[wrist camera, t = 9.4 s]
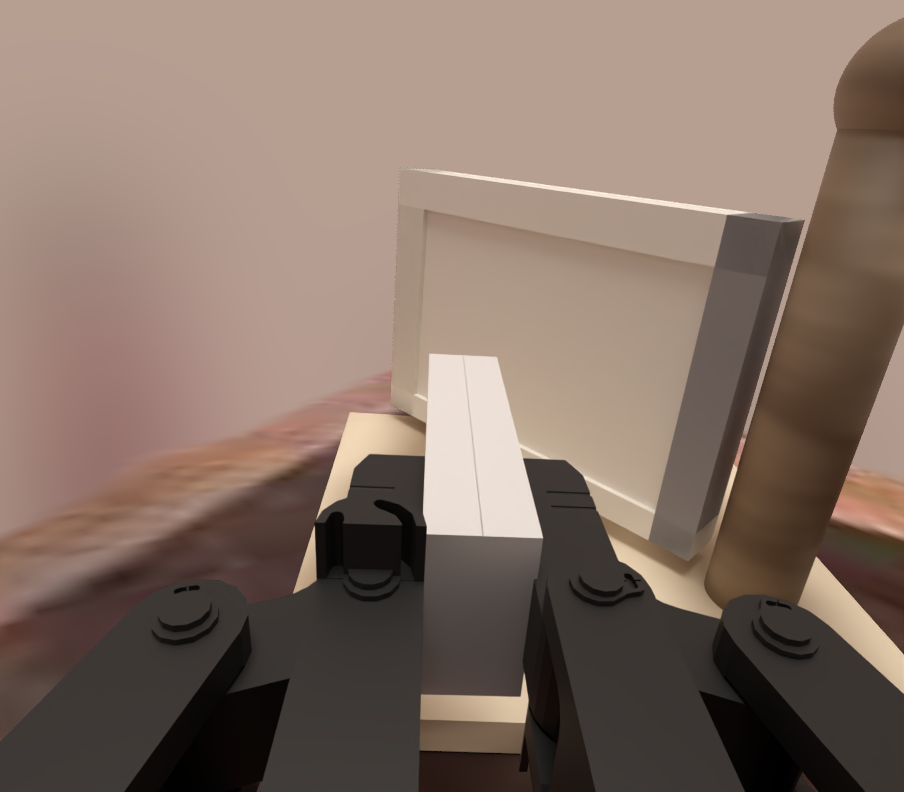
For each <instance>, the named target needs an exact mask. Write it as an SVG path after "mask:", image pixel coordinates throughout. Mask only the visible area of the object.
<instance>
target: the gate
mask: <svg viewBox="0 0 904 792" xmlns="http://www.w3.org/2000/svg"><path fill="white" fill-rule="evenodd" d="M804 221H805V220H801V219H793V218H786V217H779V216H771V215H763V214H757V213H750V212H742V211H735V210H728V209H720V208H712V207H706V206H698V205H690V204H683V203H676V202H669V201H662V200H654V199H647V198H639V197H632V196H625V195H618V194H610V193H603V192H596V191H589V190H581V189H574V188H566V187H559V186H552V185H545V184H537V183H530V182H523V181H515V180H507V179H501V178H493V177H486V176H479V175H471V174H464V173H457V172H449V171H442V170H435V169H411V168H400V170H399V196H398V222H397V249H396V275H395V301H394V328H393V353H392V379H391V405H393V406H395V407H397V408H398V409H400V410H402V411H404V412H406V413H408V414H410V415H412V416H414V417H415V418H417V419H419V420H421V421H423V422H425V423H426V416H427V395H428V373H429V354H446V355H466V356H487V357H497V359H498V363H499V367H500V371H501V375H502V379H503V383H504V387H505V391H506V395H507V399H508V402H509V406H510V410H511V414H512V418H513V422H514V426H515V430H516V434H517V438H518V441H519V445H520V449H521V453H522V457H523V458H531V459H555V460H566V461H567V462H568V463H569V464H571V465H572V466H573V467H574V468H575V469H576V470H577V471H579V472H580V473H581V474H582V475H583V477H584V479H585V481H586V484H587V486H588V489H589V491H590V496H592V498H593V501H594V503H595V505H596V511H598V513H599V515H601V516H603V517H605V518H607V519H609V520H611V521H612V522H614V523H616V524H618V525H620V526H622V527H624V528H626V529H628V530H629V531H631V532H633V533H635V534H637V535H639V536H641V537H643V538H645V539H647V540H648V541H650V542H652V543H654V544H656V545H658V546H660V547H662V548H664V549H665V550H667V551H669V552H671V553H673V554H675V555H677V556H679V557H681V558H683V559H684V560H686V561H689V560H690V559H691V558H692V557H693V556H694V555H696V554H697V553H698V552H699V551H700V550H701V549H702V548H703V547H704V546H706V545H707V544H708V543H709V542H710V541H711V540H712V537H713V533H714V530H715V526H716V523H717V519H718V516H719V513H720V509H721V506H722V502H723V499H724V495H725V492H726V489H727V485H728V482H729V478H730V475H731V471H732V468H733V465H734V461H735V458H736V454H737V451H738V447H739V444H740V440H741V437H742V434H743V430H744V426H745V423H746V419H747V416H748V413H749V409H750V406H751V403H752V399H753V396H754V392H755V389H756V386H757V382H758V379H759V375H760V372H761V368H762V365H763V362H764V358H765V354H766V351H767V348H768V344H769V341H770V337H771V334H772V331H773V327H774V324H775V320H776V317H777V313H778V310H779V307H780V303H781V299H782V296H783V293H784V289H785V286H786V283H787V279H788V276H789V272H790V269H791V265H792V262H793V259H794V255H795V252H796V248H797V245H798V241H799V238H800V234H801V231H802V227H803V224H804Z"/></svg>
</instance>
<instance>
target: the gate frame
mask: <svg viewBox="0 0 904 792" xmlns="http://www.w3.org/2000/svg"><path fill="white" fill-rule="evenodd" d="M834 119H835V124H836V127H837V133H836V136H835V139H834V143H833V147H832V150H831V153H830V156H829V160H828V164H827V167H826V170H825V173H824V177H823V180H822V184H821V187H820V190H819V194H818V197H817V201H816V204H815V207H814V211H813V214H812V218H811V221H810V224H809V228H808V231H807V234H806V238H805V241H804V245H803V248H802V252H801V255H800V258H799V262H798V265H797V268H796V272H795V275H794V278H793V282H792V285H791V289H790V292H789V296H788V299H787V302H786V306H785V309H784V313H783V316H782V319H781V322H780V326H779V330H778V333H777V336H776V339H775V343H774V346H773V350H772V353H771V356H770V361H769V363H768V367H767V370H766V373H765V377H764V380H763V384H762V387H761V390H760V394H759V397H758V401H757V404H756V407H755V411H754V414H753V417H752V421H751V425H750V428H749V431H748V434H747V438H746V441H745V445H744V448H743V451H742V455H741V458H740V461H739V465H738V468H737V467H736V466H735V465H733V468H732V471H731V475H730V478H729V482H728V485H727V489H726V492H725V495H724V499H723V502H722V506H721V509H720V513H719V516H718V519H717V523H716V526H715V530H714V533H713V537H712V540H711V541H710V542H709V543H708V544H707V545H706V546H704V547H703V548H702V549H701V550H700V551H699V552H698V553H697V554H696V555H694V556H693V557H692V558H691V559H690V560H689V561H686V560H684V559H683V558H681V557H679V556H677V555H675V554H673V553H671V552H669V551H667V550H665V549H664V548H662V547H660V546H658V545H656V544H654V543H652V542H650V541H648V540H647V539H645V538H643V537H641V536H639V535H637V534H635V533H633V532H631V531H629V530H628V529H626V528H624V527H622V526H620V525H618V524H616V523H614V522H612V521H611V520H609V519H607V518H605V517H603V516H601V515H600V517H601V520H602V522H603V525H604V527H605V529H606V532H607V534H608V537H609V539H610V541H611V544H612V546H613V549H614V551H615V553H616V556H617V558H618V561H620V562H623V563H625V564H627V565H628V566H630V567H631V568H632V569H634V570H635V571H637V572H638V573H639V574H641V575H642V576H643V578H644V579H645V580H646V582H647V583H648V584H649V586H650V587H651V589H652V591H653V593H654V595H655V597H656V599H657V600H659V601H661V602H663V603H666V604H669V605H672V606H675V607H677V608H680V609H684V610H688V611H692V612H696V613H699V614H703V615H707V616H711V617H715V618H718V619H720V618H721V615H722V611H723V610H724V608H725V607H726V605H727V604H728V602H729V601H730V600H732V599H734V598H737V597H740V596H742V595H767V596H771V597H775V598H779V599H783V600H787V601H789V602H791V603H793V604H796V605H798V606H800V607H802V608H804V609H806V610H808V611H810V612H811V613H813V614H814V615H816V616H817V617H818V618H820V619H821V620H822V621H824V622H825V623H826V624H828V625H829V626H830V627H831V628H832V629H834V630H835V631H836V632H837V633H838V634H839V635H840V636H841V637H842V638H843V639H844V640H846V641H847V642H848V643H849V644H850V645H851V646H852V647H853V648H854V649H855V650H856V651H858V652H859V653H860V654H861V655H862V656H863V657H864V658H865V659H866V660H867V661H869V662H870V663H871V664H872V665H873V666H874V667H875V668H876V669H877V670H878V671H879V672H881V673H882V674H883V675H884V676H885V677H886V678H887V679H888V680H889V681H890V682H891V683H893V684H894V685H895V686H896V687H897V688H898V689H899V690H900V691H901V692H902V693H903V694H904V654H903V653H902V652H901V651H900V650H899V649H898V648H897V647H896V645H895V644H894V643H893V642H892V641H891V640H890V639H889V638H888V636H887V635H886V634H885V633H884V632H883V631H882V630H881V629H880V628H879V626H878V625H877V624H876V623H875V622H874V621H873V620H872V619H871V617H870V616H869V615H868V614H867V613H866V612H865V611H864V610H863V609H862V607H861V606H860V605H859V604H858V603H857V602H856V601H855V600H854V598H853V597H852V596H851V595H850V594H849V593H848V592H847V591H846V589H845V588H844V587H843V586H842V585H841V584H840V583H839V582H838V581H837V579H836V578H835V577H834V576H833V575H832V574H831V573H830V572H829V570H828V569H827V568H826V567H825V566H824V565H823V564H822V563H821V561H820V560H819V559H818V558H817V557H816V555H817V553H818V550H819V548H820V545H821V542H822V540H823V537H824V534H825V532H826V529H827V526H828V524H829V521H830V518H831V516H832V513H833V510H834V508H835V505H836V502H837V500H838V497H839V495H840V492H841V489H842V487H843V484H844V481H845V479H846V476H847V473H848V471H849V468H850V465H851V463H852V460H853V457H854V455H855V452H856V449H857V447H858V444H859V441H860V439H861V436H862V434H863V431H864V428H865V426H866V423H867V420H868V417H869V415H870V412H871V409H872V407H873V404H874V402H875V399H876V396H877V394H878V391H879V388H880V386H881V383H882V381H883V378H884V375H885V372H886V370H887V367H888V365H889V362H890V359H891V357H892V354H893V351H894V349H895V346H896V343H897V341H898V338H899V335H900V333H901V330H902V327H903V325H904V18H902V19H899V20H898V21H896V22H894V23H892V24H890V25H888V26H887V27H885V28H884V29H882V30H881V31H879V32H878V33H876V34H875V35H874V36H873V37H872V38H870V39H869V40H868V41H867V42H866V43H865V44H864V45H863V46H862V47H861V48H860V49H859V50H858V51H857V53H856V54H855V55H854V56H853V58H852V59H851V60H850V62H849V63H848V65H847V67H846V68H845V70H844V72H843V74H842V76H841V78H840V80H839V83H838V86H837V89H836V93H835V98H834ZM425 438H426V423H425V422H423V421H421V420H419V419H417V418H415V417H414V416H403V415H386V414H369V413H352V412H350V414H349V417H348V420H347V424H346V427H345V430H344V433H343V436H342V440H341V443H340V446H339V449H338V452H337V456H336V459H335V462H334V465H333V468H332V471H331V475H330V478H329V481H328V484H327V487H326V491H325V494H324V497H323V500H322V503H321V506H320V510H319V513H318V516H319V515H320V513H321V512H322V510H324V509H325V508H327V507H328V506H330V505H331V504H333V503H334V502H336V501H338V500H341V499H345V498H347V495H348V491H349V489H350V483H351V479H352V475H353V471H354V468H355V467H356V466H357V465H358V464H359V463H360V462H361V461H362V460H363V459H364V458H366V457H367V456H368V455H369V454H385V455H409V456H425ZM318 516H317V518H318ZM316 579H317V577H316V550H315V526H314V529H313V532H312V535H311V538H310V541H309V545H308V548H307V551H306V554H305V557H304V561H303V564H302V567H301V570H300V573H299V577H298V580H297V583H296V586H295V589H294V592H293V594H294V593H296V592H298V591H300V590H302V589H304V588H306V587H308V586H309V585H311V584H312V583H313V582H315V581H316ZM528 701H529V699H528V693H527V687H526V680H525V674H524V676H523V683H522V690H521V697H504V696H464V695H424V694H421V713H420V750H423V751H454V752H486V753H518V754H521V747H522V741H523V734H524V728H525V721H526V714H527V708H528Z"/></svg>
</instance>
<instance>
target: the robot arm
mask: <svg viewBox="0 0 904 792" xmlns="http://www.w3.org/2000/svg"><path fill="white" fill-rule="evenodd" d="M314 523H315V550H316V577H317V579H316V581H315V582H313V583H312V584H311V585H309V586H308V587H306V588H304V589H302V590H300V591H298V592H296V593H294V594H291V595H287V596H284V597H280V598H277V599H272V600H267V601H262V602H257V603H252V604H247V599H246V598H245V597H244V595H243V594H242V593H241V592H240V591H239V590H238V589H237V587H235V586H232V585H230V584H227V583H225V582H222V581H220V580H205V579H196V580H191V581H185V582H180V583H175V584H172V585H170V586H168V587H165V588H163V589H161V590H159V591H156V592H154V593H152V594H151V595H149V596H148V597H147V598H145V599H144V600H143V601H141V602H140V603H139V604H137V605H136V606H135V607H134V608H133V609H132V610H131V611H130V612H129V613H128V614H127V615H126V616H125V617H124V618H123V619H122V620H121V621H120V622H119V623H118V624H117V625H116V626H115V627H114V628H113V629H112V630H111V631H110V632H109V633H108V634H107V635H106V636H105V637H104V638H103V639H102V640H101V641H100V642H99V643H98V644H97V645H96V646H95V647H94V648H93V649H92V650H91V651H90V652H89V653H88V654H87V655H86V656H85V657H84V658H83V659H82V660H81V661H80V662H79V663H78V664H77V665H76V666H75V667H74V668H73V669H72V670H71V671H70V672H69V673H68V674H67V675H66V676H65V677H64V678H63V679H62V680H61V681H60V682H59V683H58V684H57V685H56V686H55V687H54V688H53V689H52V690H51V691H50V692H49V693H48V694H47V695H46V696H45V697H44V698H43V699H42V700H41V701H40V702H39V703H38V704H37V705H36V706H35V707H34V708H33V710H32V711H31V712H30V713H29V714H28V715H27V716H26V717H25V718H24V719H23V720H22V721H21V722H20V723H19V724H18V725H17V726H16V727H15V728H14V729H13V730H12V731H11V732H10V733H9V734H8V735H7V736H6V737H5V738H4V739H3V740H2V741H1V742H0V792H256V791H257V789H258V786H259V783H260V782H261V781H262V785H261V789H260V792H418V787H419V750H420V713H421V694H424V695H464V696H504V697H521V690H522V683H523V676H524V674H525V680H526V687H527V693H528V699H529V701H528V708H527V714H526V721H525V728H524V734H523V741H522V747H521V754H520V765H519V772H527V769H528V763H529V765H530V773H531V780H532V787H533V792H815V791H814V790H813V789H812V788H811V787H810V786H809V785H808V784H807V783H806V782H805V780H804V779H803V778H802V777H801V774H802V771H803V773H804V774H805V775H806V776H807V778H808V779H809V780H810V781H811V783H812V784H813V785H814V786H815V788H816V789H817V790H818V791H819V792H904V694H903V693H902V692H901V691H900V690H899V689H898V688H897V687H896V686H895V685H894V684H893V683H891V682H890V681H889V680H888V679H887V678H886V677H885V676H884V675H883V674H882V673H881V672H879V671H878V670H877V669H876V668H875V667H874V666H873V665H872V664H871V663H870V662H869V661H867V660H866V659H865V658H864V657H863V656H862V655H861V654H860V653H859V652H858V651H856V650H855V649H854V648H853V647H852V646H851V645H850V644H849V643H848V642H847V641H846V640H844V639H843V638H842V637H841V636H840V635H839V634H838V633H837V632H836V631H835V630H834V629H832V628H831V627H830V626H829V625H828V624H826V623H825V622H824V621H822V620H821V619H820V618H818V617H817V616H816V615H814V614H813V613H811V612H810V611H808V610H806V609H804V608H802V607H800V606H798V605H796V604H793V603H791V602H789V601H787V600H783V599H779V598H775V597H771V596H767V595H742V596H740V597H737V598H734V599H732V600H730V601H729V602H728V604H727V605H726V607H725V608H724V610H723V611H722V615H721V618H720V619H718V618H715V617H711V616H707V615H703V614H699V613H696V612H692V611H688V610H684V609H680V608H677V607H675V606H672V605H669V604H666V603H663V602H661V601H659V600H657V599H656V597H655V595H654V593H653V591H652V589H651V587H650V586H649V584H648V583H647V582H646V580H645V579H644V578H643V576H642V575H641V574H639V573H638V572H637V571H635V570H634V569H632V568H631V567H630V566H628V565H627V564H625V563H623V562H620V561H618V558H617V556H616V553H615V551H614V549H613V546H612V544H611V541H610V539H609V537H608V534H607V532H606V529H605V527H604V525H603V522H602V520H601V517H600V515H599V513H598V511H596V505H595V503H594V501H593V498H592V496H590V491H589V489H588V486H587V484H586V481H585V479H584V477H583V475H582V474H581V473H580V472H579V471H577V470H576V469H575V468H574V467H573V466H572V465H571V464H569V463H568V462H567V461H566V460H555V459H531V458H523V457H522V453H521V449H520V445H519V441H518V438H517V434H516V430H515V426H514V422H513V418H512V414H511V410H510V406H509V402H508V399H507V395H506V391H505V387H504V383H503V379H502V375H501V371H500V367H499V363H498V359H497V357H487V356H466V355H446V354H429V373H428V395H427V416H426V438H425V456H409V455H385V454H369V455H368V456H367V457H366V458H364V459H363V460H362V461H361V462H360V463H359V464H358V465H357V466H356V467H355V468H354V471H353V475H352V479H351V483H350V489H349V491H348V495H347V498H345V499H341V500H338V501H336V502H334V503H333V504H331V505H330V506H328V507H327V508H325V509H324V510H322V512H321V513H320V515H319V516H318V518H317V519H316V521H315V522H314Z"/></svg>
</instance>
